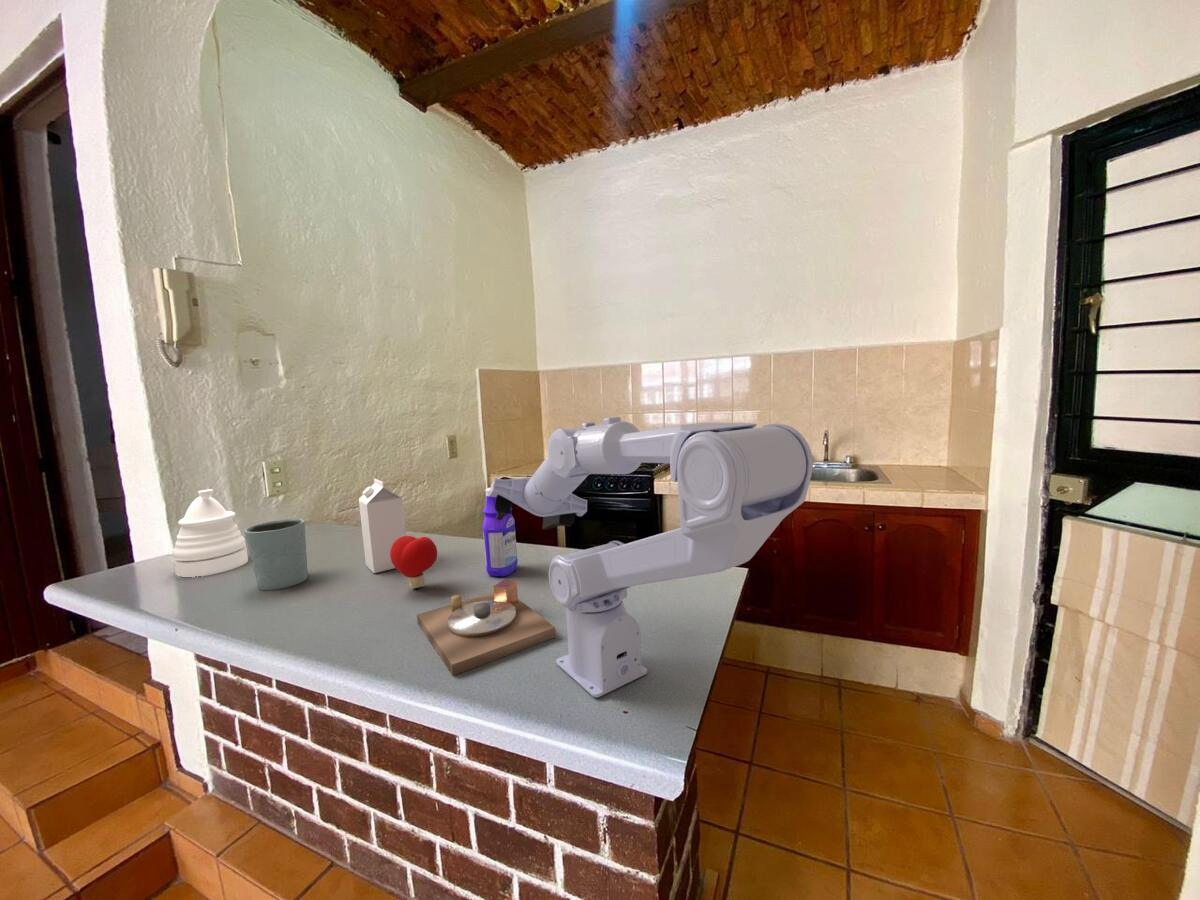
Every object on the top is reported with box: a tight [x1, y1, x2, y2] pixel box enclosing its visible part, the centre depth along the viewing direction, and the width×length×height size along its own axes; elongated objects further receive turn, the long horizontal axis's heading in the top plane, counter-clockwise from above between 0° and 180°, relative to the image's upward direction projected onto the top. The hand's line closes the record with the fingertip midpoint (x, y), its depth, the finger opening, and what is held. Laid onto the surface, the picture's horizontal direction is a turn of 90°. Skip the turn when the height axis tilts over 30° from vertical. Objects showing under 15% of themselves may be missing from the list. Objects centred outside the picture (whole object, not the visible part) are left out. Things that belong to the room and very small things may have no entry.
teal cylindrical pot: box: [244, 518, 309, 591], centre depth 95 cm, size 10×10×12 cm
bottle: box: [482, 486, 519, 578], centre depth 94 cm, size 7×6×17 cm
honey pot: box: [172, 488, 249, 578], centre depth 106 cm, size 13×13×18 cm
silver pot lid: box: [448, 578, 519, 637], centre depth 72 cm, size 12×10×3 cm
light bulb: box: [390, 535, 438, 590], centre depth 88 cm, size 9×7×10 cm
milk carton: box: [358, 478, 407, 574], centre depth 101 cm, size 7×7×19 cm
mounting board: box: [416, 591, 557, 677], centre depth 71 cm, size 18×15×4 cm
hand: (522, 518), depth 75 cm, fingers open, 7 cm apart
